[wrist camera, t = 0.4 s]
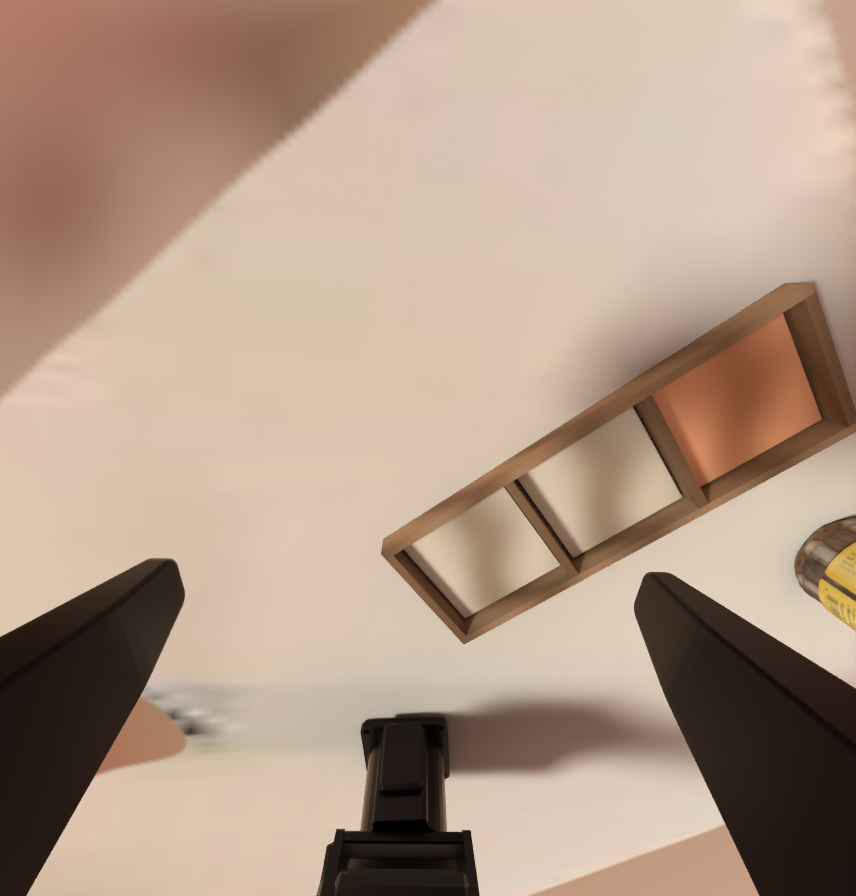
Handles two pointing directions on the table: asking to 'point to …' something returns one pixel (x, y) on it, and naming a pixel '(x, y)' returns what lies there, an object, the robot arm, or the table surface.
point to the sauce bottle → (831, 569)
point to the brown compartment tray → (634, 465)
